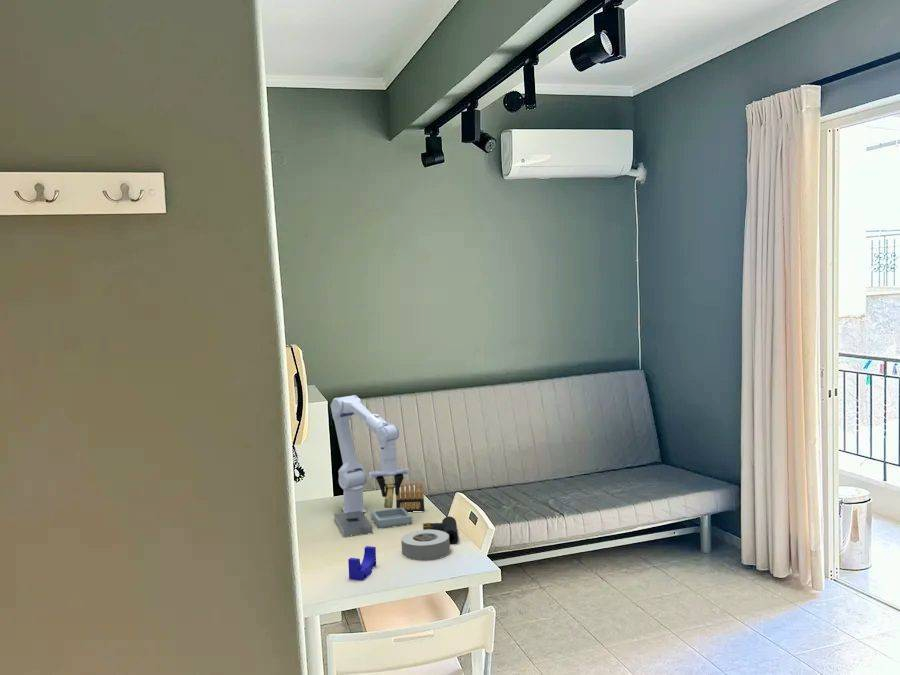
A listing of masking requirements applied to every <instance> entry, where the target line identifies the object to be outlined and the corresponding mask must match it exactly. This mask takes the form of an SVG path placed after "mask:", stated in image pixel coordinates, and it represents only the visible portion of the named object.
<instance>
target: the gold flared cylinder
mask: <svg viewBox="0 0 900 675" xmlns="http://www.w3.org/2000/svg"><path fill="white" fill-rule="evenodd" d="M395 487H396V483H395V482H393V481H392V482H391V481H385V497H384V503H383V508H385V509H393V507H394V506H393V504H394V494H395Z"/></svg>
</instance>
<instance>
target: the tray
mask: <svg viewBox="0 0 900 675" xmlns="http://www.w3.org/2000/svg"><path fill="white" fill-rule="evenodd" d="M370 512H371V514H370V516H371V517H370V518H371V520H373V521H374V522H373V521H372V522H373V523H374V525H375V524H376V525H377V526H376V525H375V526H376V528H377V529H378V528H382V529H387V528H386V527H389V528H394V527H393V526H397V527H401V526H400V525H404V526H408V525H407V524H412V516H411V513H408V512H407V511H406V510H405V509H404V508H386V509H380V510H373V511H370Z"/></svg>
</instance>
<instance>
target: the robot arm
mask: <svg viewBox="0 0 900 675" xmlns="http://www.w3.org/2000/svg"><path fill="white" fill-rule="evenodd" d="M330 410H331V415H332V420H333V422H334V426H335V427H334V428H335V431H336V436H337V441H338V446H339V450H340V456H341V461H342V465H341V466H340V467H339V469H338V471H337V472H338V484H339V487H340V488H341V489H342V490H343V506H342V507H341V510H342V511H343V513H347V512H356V511H362V513H363V512H365V513H367V510H366V508H365V507H364V488H365V484H367V481H368V480H367V479H368V477H369V479H370V480H371V479H374V478H375V480H376V481H377V484H378V486H379V488H380V493H381V496H382V497H383V498H385V488H386V487H385V482H386V479H385V477H392V476H393V477H394V478H393V479H394V483H396V487H394V494H395V496H396V495H397V496H398V494H399V489H400V490H401V483H402V481H403V480H404V479H405V478H404V476H405V475H410V468H408V467H404V468H403V467H402V468H398V461H397V459H398V458H397V457H398V456H397V454H398V453H397V440H398V438H399V437H400V429H399V428H398V426H397V425H396V424H395V423H388V421H386V420H385V419H383V418H382V417H381V415H380V414H378V413H372V412H371V411H370V410H369V409H368V408H366V406H365V405H364V404H363V403H362V400H361V398H359V396H357V395H356V394H352V395H347V396H341V397H335V398H333V399H332V402H331V403H330ZM355 415H357V417H359V418H360V419H362V420H364V422H365V426H366V427H367V428H369V430H371V431H372V432H373V433H374V434H375V436H376V439H377V441H378V447H380V450H379V451H380V470H374V471H368V475H367V473H366V470H365V469H364V465H363V464H362V463H360V462H359V461H358V459H357V456H356V451H355V445H354V441H353V440H354V439H353V436H352V431H351V426H350V420H351V418H352V417H353V416H355ZM403 482H404V481H403ZM363 514H364V513H363Z"/></svg>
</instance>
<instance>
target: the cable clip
mask: <svg viewBox="0 0 900 675" xmlns="http://www.w3.org/2000/svg"><path fill="white" fill-rule="evenodd" d="M376 548H377V547H376V546H371V545H369V546H368V545H366V546H365V547H364V552H363V558H362V561H361V558H356V557H350V558H349V559H348V561H347V563H348V579H349V580H356V581H364V580H366V579H367V578H368V577H369V576H370V575H371V573H372V574H373V569H374V568H375V567H376V566H377V549H376ZM374 566H375V567H374ZM373 567H374V568H373ZM372 568H373V569H372Z"/></svg>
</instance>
